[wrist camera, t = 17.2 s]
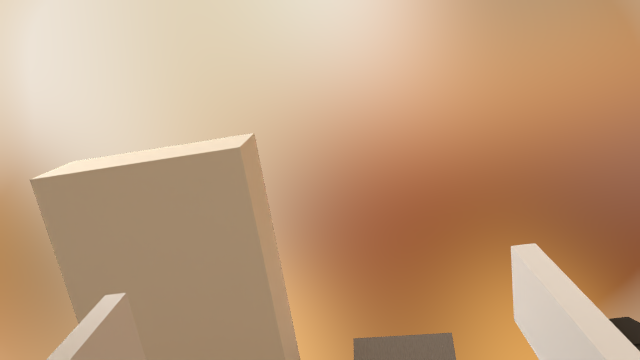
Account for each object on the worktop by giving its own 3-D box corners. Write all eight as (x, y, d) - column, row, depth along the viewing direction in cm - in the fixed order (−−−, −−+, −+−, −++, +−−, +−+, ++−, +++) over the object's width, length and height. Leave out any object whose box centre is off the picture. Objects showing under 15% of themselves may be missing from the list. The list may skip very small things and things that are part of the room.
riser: (170, 477, 43) (72, 161, 35) (321, 462, 42) (254, 133, 34) (148, 530, 38) (29, 179, 31) (318, 516, 37) (239, 147, 29)
